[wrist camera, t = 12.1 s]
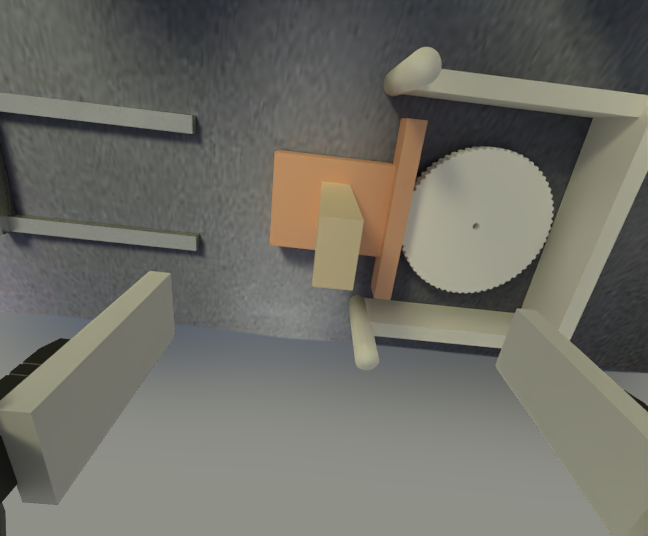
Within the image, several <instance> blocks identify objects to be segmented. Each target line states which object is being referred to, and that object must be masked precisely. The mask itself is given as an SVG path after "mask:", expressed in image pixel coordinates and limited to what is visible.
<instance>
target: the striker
mask: <svg viewBox="0 0 648 536" xmlns="http://www.w3.org/2000/svg"><path fill="white" fill-rule="evenodd" d="M427 123H428V121H427V120H419V119H411V118H401V121H400V127H399V132H398V138H397V144H396V149H395V155H394V160H393V164H392V163H387V162H378V161H370V160H361V159H352V158H344V157H335V156H327V155H318V154H310V153H301V152H293V151H284V150H277V151H276V152H275V156H274V175H273V193H272V212H271V231H270V245H273V246H282V247H292V248H301V249H310V250H315V257H314V268H313V280H312V287H322V288H332V289H342V290H351V291H353V286H354V280H355V274H356V267H357V261H358V255H367V256H376V260H375V265H374V271H373V276H372V282H371V289H372V293H373V297H374V298H375V299H385V300H391V295H392V290H393V285H394V281H395V276H396V271H397V266H398V261H399V257H400V252H401V247H402V242H403V238H404V233H405V228H406V223H407V218H408V214H409V209H410V204H411V199H412V195H413V190H414V185H415V180H416V175H417V171H418V166H419V161H420V156H421V151H422V147H423V142H424V137H425V132H426V128H427Z"/></svg>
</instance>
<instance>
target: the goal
mask: <svg viewBox="0 0 648 536" xmlns="http://www.w3.org/2000/svg"><path fill="white" fill-rule="evenodd" d="M441 66H442V63H441V58H440V55H439V53H438V52H437V51H436V50H435V49H433V48H431V47H422V48H420V49H418V50H416V51H415V52H414V53H413V54H411V55H410V56H409V57H407V58H406V59H405V60H404V61H402V62H401V63H400V64H398V65H397V66H396V67H395V68H393V69H392V70H391V71H390V72H388V73H387V74H386V75H385V77H384V79H383V89H384V91H385V93H386V94H388V95H389V96H397V95H400V94H404V95H412V96H420V97H428V98H436V99H444V100H452V101H461V102H469V103H477V104H485V105H493V106H501V107H509V108H517V109H525V110H533V111H541V112H549V113H557V114H565V115H573V116H581V117H589V118H593V120H592V122H591V125H590V127H589V130H588V133H587V135H586V138H585V141H584V143H583V146H582V149H581V151H580V154H579V157H578V159H577V162H576V165H575V167H574V170H573V173H572V175H571V178H570V180H569V183H568V186H567V188H566V191H565V194H564V196H563V199H562V202H561V204H560V207H559V210H558V212H557V215H556V218H555V220H554V223H553V225H552V228H551V231H550V233H549V236H548V239H547V241H546V244H545V247H544V249H543V252H542V255H541V257H540V260H539V263H538V265H537V268H536V271H535V273H534V276H533V278H532V281H531V284H530V286H529V289H528V292H527V294H526V297H525V300H524V302H523V305H522V308H521V309H528V310H536V311H537V312H538V313H540V314H541V315H542V316H543V317H544V318H545V319H546V320H547V321H548V322H549V323H551V324H552V325H553V326H554V327H555V328H556V329H557V330H558V331H559V332H560V333H562V334H563V335H564V336H565V337H566V338H567V339H568V340H569V341H570V339H571V337H572V335H573V333H574V330H575V328H576V326H577V324H578V322H579V320H580V317H581V315H582V313H583V311H584V309H585V306H586V304H587V302H588V300H589V298H590V296H591V293H592V291H593V289H594V287H595V285H596V282H597V280H598V278H599V276H600V274H601V271H602V269H603V267H604V265H605V263H606V261H607V258H608V256H609V254H610V252H611V250H612V247H613V245H614V243H615V241H616V239H617V237H618V234H619V232H620V230H621V228H622V226H623V223H624V221H625V219H626V217H627V215H628V213H629V210H630V208H631V206H632V204H633V202H634V199H635V197H636V195H637V193H638V191H639V189H640V186H641V184H642V182H643V180H644V178H645V175H646V173H647V171H648V95H642V94H634V93H626V92H618V91H611V90H603V89H595V88H587V87H579V86H572V85H564V84H556V83H548V82H540V81H532V80H525V79H517V78H509V77H501V76H493V75H486V74H478V73H470V72H462V71H454V70H446V69H441ZM348 306H349V314H350V323H351V331H352V339H353V348H354V356H355V363H356V366H357V367H358V368H360V369H361V370H365V371H366V370H367V371H368V370H372V369H374V368H376V367H377V365H378V364H379V356H378V352H377V347H376V342H375V338H374V336H380V337H390V338H401V339H411V340H421V341H431V342H442V343H452V344H462V345H472V346H483V347H493V348H502V346H503V344H504V341H505V338H506V336H507V333H508V330H509V328H510V325H511V322H512V320H513V317H514V314H515V313H510V312H500V311H491V310H481V309H471V308H461V307H451V306H442V305H432V304H422V303H412V302H402V301H392V300H383V299H373V298H364V297H363V296H361V295H354V296H352V297H351V298H350V299H349V301H348Z"/></svg>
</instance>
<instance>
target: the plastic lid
mask: <svg viewBox="0 0 648 536" xmlns="http://www.w3.org/2000/svg"><path fill="white" fill-rule="evenodd" d="M426 169H427V170H426V171H425V172H424V171H423V172H422V173H421V176H420V177H417V181H416V182H415V185H414V190H413V195H412V199H411V204H410V209H409V214H408V218H407V223H406V228H405V233H404V238H403V242H402V247H401V248H402V251H403V253H404V256H405V258H406V259H407V261H408V263H409V264H410V266H411V267H412V269H413V270H414V271H415V272H416V274H417V275H418V276H420V277H421V279H424V280H425V282H427V283H428V282H429V283H430V285H432V286H433V285H434V286H435V287H436V288H440V289H441V290H444V289H445V290H446V291H447V292H449V291H452V292H453V293H455V292H458V293H462V292H464V293H465V294H467V293H468V292H470V293H474V292H475V291H477V292H480V291H481V290H483V291H486V290H487V289H493V287H498V286H499V285H500V284H502V285H503V284H505V282H506V281H510V280H511V278H512V277H513V278H515V277H516V275H517V274H518V273H519V274H520V273H521V272H522V270H523V269H526V268H527V267H526V266H527V265H528V264H529V265H530V264H531V263H532V262H531V261H532V260H533V259H535V258H536V254H539V253H540V251H539V250H540V249H541V248H543V243H544V242H546V240H547V239H546V237H547V236H549V233H548V231H549V230H551V227H550V224H551V223H552V222H553V220H551V218H552V217H553V215H554V214H553V213H552V211H553V210H554V207H552V204H553V203H554V202H553V200H551V198H552V197H553V195H552V194H550V191H551V188H548V185H549V183H548V182H546V181H545V180H546V177H545V176H542V174H543V173H542V171H539V170H538V169H539V168H538V167H537V166H534V163H533V162H531V161H529V159H528V158H525V157H523V155H521V154H517V152H513V151H511V150H507V149H502V148H496V147H488V146H486V147H483V146H479V147H472V148H465V150H461V149H460V150H458V152H452V153H451V155H445V158H443V159H442V158H440V159H438V162H437V163H436V162H434V163H432V166H431V167H427V168H426Z"/></svg>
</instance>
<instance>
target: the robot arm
mask: <svg viewBox="0 0 648 536" xmlns="http://www.w3.org/2000/svg"><path fill="white" fill-rule="evenodd" d="M174 336H175V330H174V315H173V300H172V285H171V273H163V272H153V271H149V272H148V273H147V274H146V275H145V276H143V277H142V278H141V279H140V280H139V281H138V282H136V283H135V284H134V285H133V286H132V287H131V288H130V289H128V290H127V291H126V292H125V293H124V294H123V295H121V296H120V297H119V298H118V299H117V300H116V301H115V302H113V303H112V304H111V305H110V306H109V307H108V308H106V309H105V310H104V311H103V312H102V313H101V314H100V315H98V316H97V317H96V318H95V319H94V320H93V321H92V322H90V323H89V324H88V325H87V326H86V327H85V328H83V329H82V330H81V331H80V332H79V333H78V334H77V335H76V336H74V337H73V338H72V339H62V338H60V339H58V340H56V341H54V342H52V343H50V344H48V345H46V346H44V347H42V348H40V349H38V350H37V351H36V352H35V353H33V354H32V355H31V356H30V357H28V358H27V359H26V360H25V361H24V362H23V364H20V365H18V366H17V367H16V368H15V369H14V370H12V371H11V372H10V374H9V375H6V376H5V377H3V378H2V379H1V380H0V536H6V519H5V509H4V507H3V504H2V501H3V500H4V499H5V498H6V497H7V495H8V494H9V493H10V492H11V491H12V489H13V488H14V487H15V486H16V485H17V488H18V490H19V493H20V496H21V499H22V502H25V503H39V504H52V505H58V504H59V502H60V501H61V499H62V498H63V496H64V495H65V494H66V492H67V491H68V489H69V488H70V486H71V485H72V484H73V482H74V481H75V479H76V478H77V476H78V475H79V473H80V472H81V471H82V469H83V468H84V466H85V464H86V463H87V462H88V460H89V459H90V457H91V456H92V455H93V453H94V452H95V450H96V449H97V447H98V446H99V444H100V443H101V442H102V440H103V439H104V437H105V436H106V435H107V433H108V432H109V430H110V429H111V427H112V426H113V424H114V423H115V422H116V420H117V419H118V417H119V416H120V414H121V413H122V411H123V410H124V409H125V407H126V406H127V404H128V403H129V401H130V400H131V398H132V397H133V395H134V394H135V393H136V391H137V390H138V388H139V387H140V385H141V384H142V383H143V381H144V380H145V378H146V377H147V375H148V374H149V373H150V371H151V370H152V368H153V367H154V365H155V364H156V362H157V361H158V359H159V358H160V357H161V355H162V354H163V352H164V351H165V349H166V348H167V347H168V345H169V343H170V342H171V341H172V339H173V338H174ZM495 367H496V368H497V370H498V371H499V373H500V374H501V375H502V377H503V379H504V380H505V381H506V383H507V384H508V386H509V387H510V389H511V390H512V392H513V393H514V394H515V396H516V397H517V399H518V400H519V402H520V403H521V405H522V406H523V408H524V409H525V411H526V412H527V414H528V415H529V416H530V418H531V419H532V421H533V422H534V424H535V425H536V427H537V428H538V430H539V431H540V432H541V434H542V435H543V437H544V438H545V440H546V441H547V443H548V444H549V446H550V447H551V449H552V450H553V452H554V453H555V455H556V456H557V457H558V459H559V460H560V462H561V463H562V464H563V466H564V468H565V469H566V471H567V472H568V474H569V475H570V477H571V478H572V479H573V481H574V482H575V484H576V485H577V487H578V488H579V490H580V491H581V493H582V494H583V496H584V497H585V498H586V500H587V501H588V503H589V504H590V505H591V507H592V509H593V510H594V512H595V513H596V515H597V516H598V517H599V519H600V520H601V522H602V523H603V525H604V526H605V528H606V529H607V531H608V532H609V534H610V535H611V536H648V406H647V405H646V404H645V403H643V402H642V401H640V400H639V399H637V398H635V397H634V396H632V395H631V394H629V393H628V392H626V391H625V390H623V389H622V388H621V387H620V386H618V385H617V384H616V383H615V382H614V381H613V380H612V379H611V378H610V377H609V376H608V375H607V374H605V373H604V372H603V371H602V370H601V369H600V368H599V367H598V366H597V365H596V364H594V363H593V362H592V361H591V360H590V359H589V358H588V357H587V356H586V355H585V354H583V353H582V352H581V351H580V350H579V349H578V348H577V347H576V346H575V345H574V344H573V343H571V342H570V341H569V340H568V339H567V338H566V337H565V336H564V335H563V334H562V333H560V332H559V331H558V330H557V329H556V328H555V327H554V326H553V325H552V324H551V323H549V322H548V321H547V320H546V319H545V318H544V317H543V316H542V315H541V314H540V313H538V312H537V311H536V310H528V309H518V308H517V309H516V312H515V314H514V317H513V320H512V322H511V325H510V328H509V330H508V333H507V336H506V338H505V341H504V344H503V346H502V349H501V351H500V354H499V357H498V359H497V362H496V365H495Z"/></svg>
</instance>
